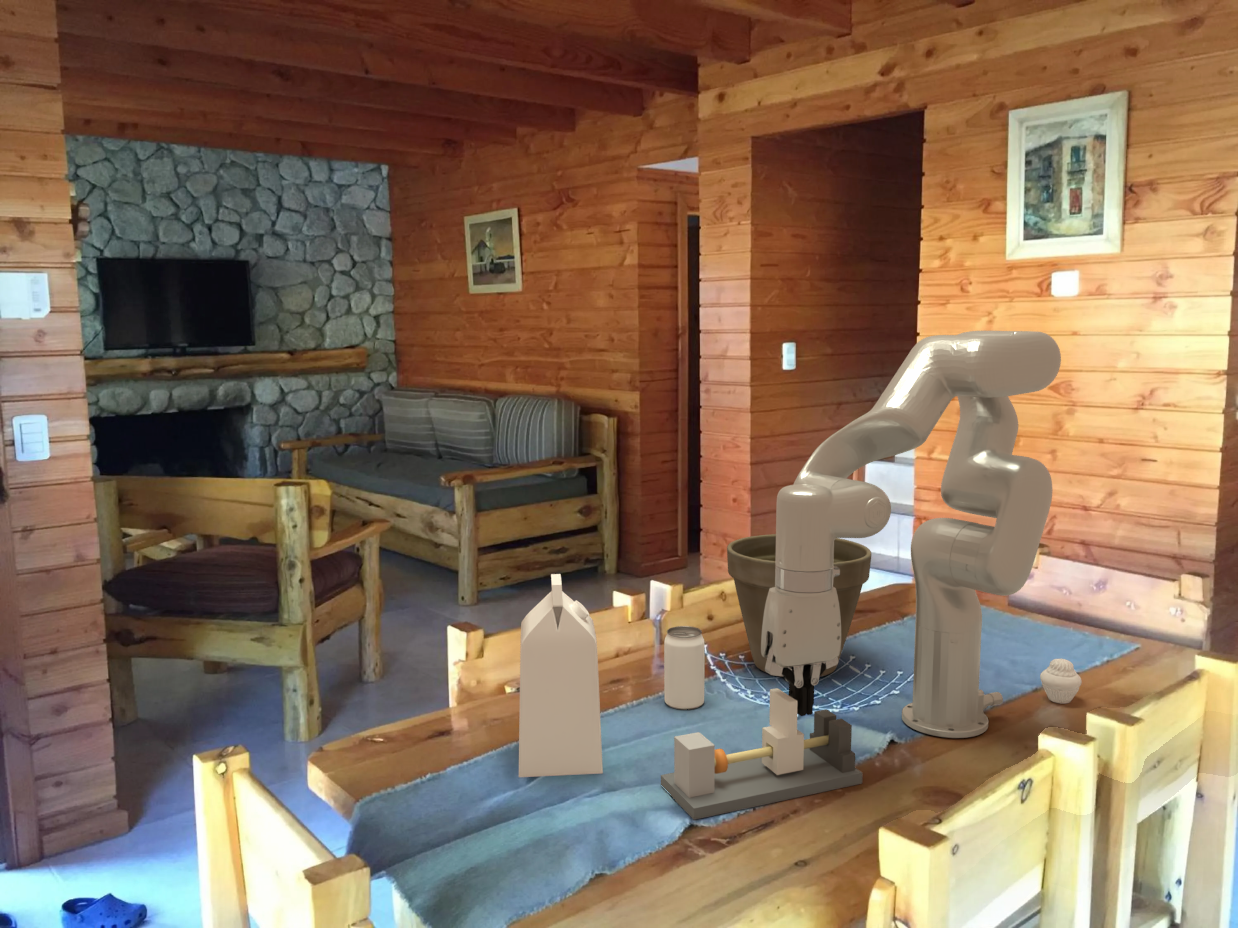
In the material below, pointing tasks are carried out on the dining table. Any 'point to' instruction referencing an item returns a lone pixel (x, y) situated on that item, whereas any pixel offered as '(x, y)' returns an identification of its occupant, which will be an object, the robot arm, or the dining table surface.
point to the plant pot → (757, 575)
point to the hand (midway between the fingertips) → (800, 711)
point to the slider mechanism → (759, 771)
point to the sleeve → (783, 735)
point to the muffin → (1060, 681)
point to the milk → (559, 689)
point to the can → (684, 667)
